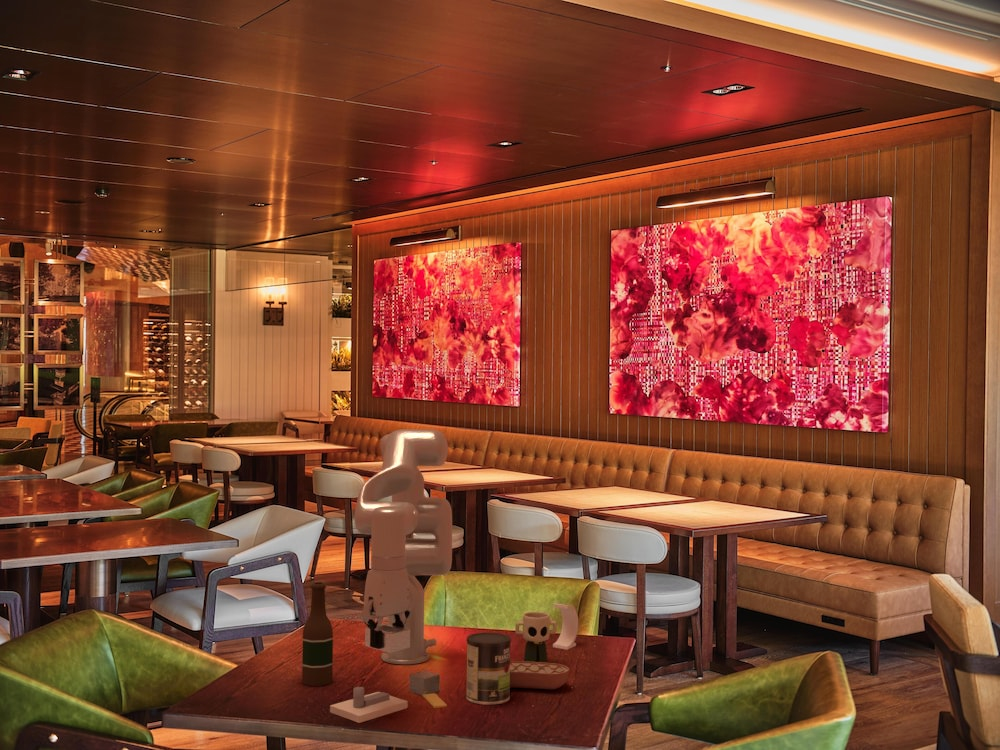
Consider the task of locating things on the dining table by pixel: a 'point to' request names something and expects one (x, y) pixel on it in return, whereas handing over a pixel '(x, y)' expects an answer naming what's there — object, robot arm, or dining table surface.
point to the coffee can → (488, 668)
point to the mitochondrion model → (537, 675)
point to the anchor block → (424, 682)
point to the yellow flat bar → (434, 700)
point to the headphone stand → (567, 627)
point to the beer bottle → (317, 641)
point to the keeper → (367, 705)
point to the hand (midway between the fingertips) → (387, 644)
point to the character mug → (536, 635)
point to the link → (391, 638)
